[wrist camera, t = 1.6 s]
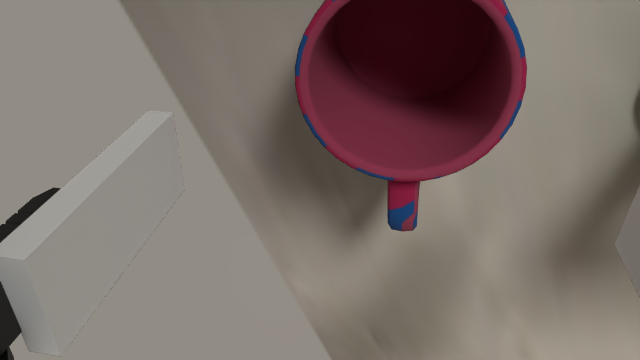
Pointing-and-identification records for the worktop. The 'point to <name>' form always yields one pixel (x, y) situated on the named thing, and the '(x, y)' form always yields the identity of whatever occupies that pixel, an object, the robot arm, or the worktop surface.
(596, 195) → the worktop surface
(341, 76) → the mug
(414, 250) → the worktop surface
